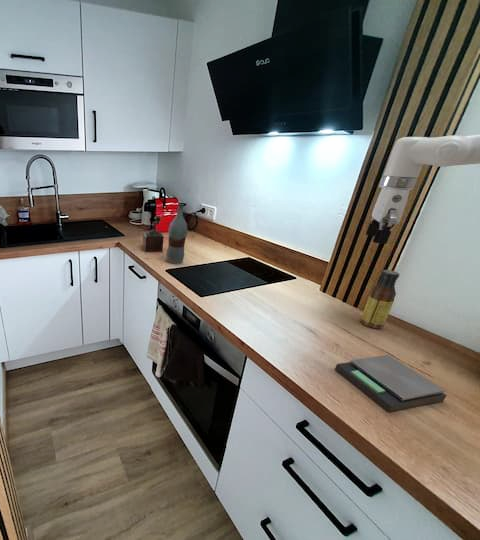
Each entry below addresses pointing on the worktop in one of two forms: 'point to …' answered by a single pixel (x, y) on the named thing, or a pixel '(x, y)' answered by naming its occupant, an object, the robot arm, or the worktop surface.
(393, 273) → the sauce bottle
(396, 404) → the scale
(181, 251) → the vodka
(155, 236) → the pepper mill
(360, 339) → the worktop surface
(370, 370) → the scale pan
